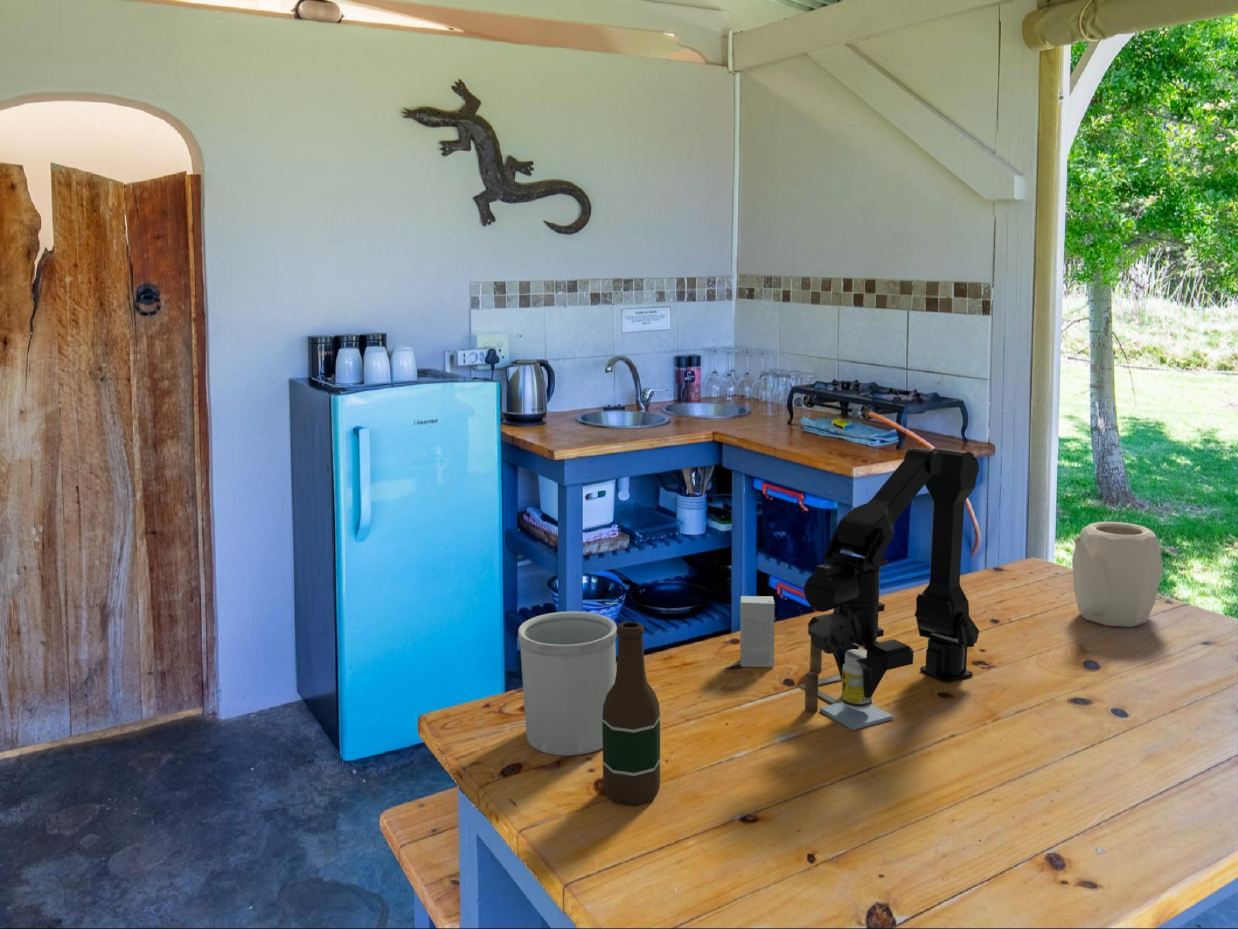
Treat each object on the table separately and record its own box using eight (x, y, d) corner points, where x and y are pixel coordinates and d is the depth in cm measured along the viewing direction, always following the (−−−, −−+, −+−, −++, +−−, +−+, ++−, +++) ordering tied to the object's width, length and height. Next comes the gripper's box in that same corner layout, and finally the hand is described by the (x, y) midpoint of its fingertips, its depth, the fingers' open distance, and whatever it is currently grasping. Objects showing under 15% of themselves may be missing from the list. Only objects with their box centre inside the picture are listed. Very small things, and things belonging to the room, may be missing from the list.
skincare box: (773, 659, 191) (774, 596, 189) (774, 668, 187) (775, 603, 185) (739, 658, 192) (740, 595, 189) (739, 667, 188) (740, 602, 185)
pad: (859, 701, 172) (859, 697, 172) (892, 719, 165) (893, 715, 165) (820, 711, 169) (820, 707, 169) (852, 730, 162) (852, 726, 162)
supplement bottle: (843, 696, 170) (845, 646, 168) (873, 699, 168) (875, 649, 167) (839, 708, 165) (841, 657, 164) (870, 712, 164) (872, 660, 162)
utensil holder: (545, 767, 151) (542, 651, 148) (506, 728, 164) (503, 620, 161) (635, 745, 158) (634, 633, 154) (591, 709, 171) (590, 605, 167)
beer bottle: (601, 780, 147) (599, 616, 142) (656, 778, 147) (656, 613, 143) (605, 809, 139) (602, 635, 135) (663, 805, 140) (663, 633, 135)
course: (823, 666, 188) (824, 634, 186) (880, 695, 174) (881, 661, 173) (755, 681, 181) (756, 648, 180) (810, 713, 168) (810, 678, 167)
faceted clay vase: (1032, 623, 209) (1038, 530, 205) (1109, 598, 223) (1116, 511, 220) (1106, 645, 196) (1114, 547, 192) (1182, 618, 211) (1191, 526, 207)
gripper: (781, 589, 168) (780, 681, 171) (859, 623, 152) (856, 724, 155) (837, 578, 173) (834, 668, 176) (917, 610, 157) (913, 709, 160)
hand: (857, 691), depth 166 cm, fingers closed on supplement bottle, 5 cm apart
